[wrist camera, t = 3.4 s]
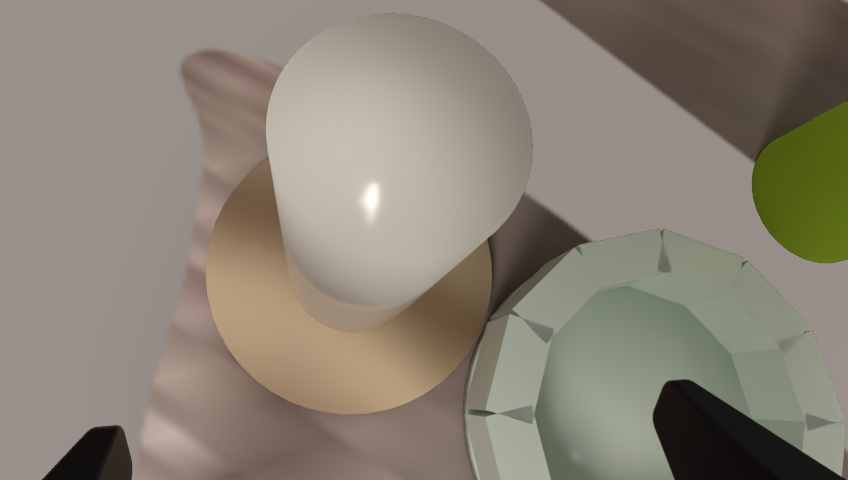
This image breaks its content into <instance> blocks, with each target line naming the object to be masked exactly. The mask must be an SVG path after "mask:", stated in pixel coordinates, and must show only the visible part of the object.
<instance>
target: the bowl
mask: <svg viewBox="0 0 848 480" xmlns="http://www.w3.org/2000/svg"><path fill="white" fill-rule="evenodd" d="M742 261H743V257H741V256H738V255H735V254H732V253H730V252H727V251H724V250H721V249H718V248H716V247H713V246H710V245H707V244H704V243H702V242H699V241H696V240H693V239H690V238H687V237H685V236H682V235H679V234H677V233H674V232H671V231H668V230H665V229H664V230H662V231H659V229H656V230H650V231H645V232H640V233H635V234H630V235H626V236H620V237H615V238H610V239H605V240H600V241H595V242H590V243H585V244H580V245H578V246H576V247H574V248H572V249H571V250H569V251H567V252H565V253H563V254H562V255H560V256H558V257H556V258H554V259H552V260H551V261H549V262H547V263H546V264H545V265H544V266H542V267H541V268H540V269H539V270H538V271H537V272H536V273H535V274H534V275H533V276H532V277H531V278H530V279H528V280H527V281H525V282H524V283H522V284H521V285H520V286H519V287H518V288H517V289H515V290H514V291H513V292H512V293H511V294H510V295H509V296H508V297H507V298H506V299H505V300H504V301H503V302H502V304H501V305H500V306H499V307H498V308H497V309H496V311H495V312H494V314H493V315H492V316H491V317H490V320H489V321H488V323H487V324H486V326H485V327H484V329H483V332H482V334H481V336H480V338H479V340H478V342H477V344H476V346H475V349H474V352H473V355H472V358H471V361H470V364H469V367H468V372H467V377H466V382H465V387H464V400H463V427H464V438H465V444H466V449H467V455H468V459H469V463H470V466H471V469H472V473H473V476H474V479H475V480H674V477H673V475H672V472H671V469H670V467H669V464H668V462H667V459H666V456H665V454H664V451H663V449H662V446H661V443H660V441H659V438H658V436H657V433H656V430H655V428H654V425H653V410H654V408H655V405H656V403H657V400H658V397H659V395H660V392H661V390H662V387H663V385H664V384H665V383H666V382H667V381H669V380H679V379H688V380H691V381H693V382H695V383H696V384H698V385H699V386H701V387H703V388H704V389H706V390H707V391H709V392H710V393H712V394H714V395H715V396H717V397H718V398H720V399H721V400H723V401H724V402H726V403H728V404H729V405H731V406H732V407H734V408H735V409H737V410H738V411H740V412H742V413H743V414H745V415H746V416H748V417H749V418H751V419H752V420H754V421H756V422H757V423H759V424H760V425H762V426H763V427H765V428H767V429H768V430H770V431H771V432H773V433H774V434H776V435H777V436H779V437H781V438H782V439H784V440H785V441H787V442H788V443H790V444H791V445H793V446H795V447H796V448H798V449H799V450H801V451H802V452H804V453H805V454H807V455H809V456H810V457H812V458H813V459H815V460H816V461H818V462H819V463H821V464H823V465H824V466H826V467H827V468H829V469H830V470H832V471H834V472H835V473H837V474H838V475H840V476H841V477H842V468H843V456H844V444H845V432H846V426H844V425H841V424H837V423H836V422H839V421H842V420H845V418H844V415H843V412H842V410H841V407H840V404H839V402H838V398H837V396H836V393H835V390H834V387H833V385H832V382H831V379H830V376H829V373H828V371H827V368H826V365H825V362H824V360H823V357H822V354H821V351H820V349H819V346H818V343H817V340H816V337H815V334H814V332H813V331H808V332H805V331H806V330H807V328H808V327H809V326H810V325H809V324H808V323H807V322H806V321H805V320H804V319H803V318H802V317H801V316H800V315H799V313H798V312H797V311H796V310H795V309H794V308H793V307H792V306H791V305H790V304H789V303H788V302H787V301H786V300H785V299H784V298H783V297H782V296H781V295H780V294H779V293H778V292H777V290H775V288H774V287H773V286H772V285H771V284H770V283H769V282H768V281H767V280H766V279H765V278H764V277H763V276H762V275H761V274H760V273H759V272H758V271H757V270H756V268H755V267H753V265H752V264H751V263H750V262H749V261H745V262H742Z"/></svg>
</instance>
